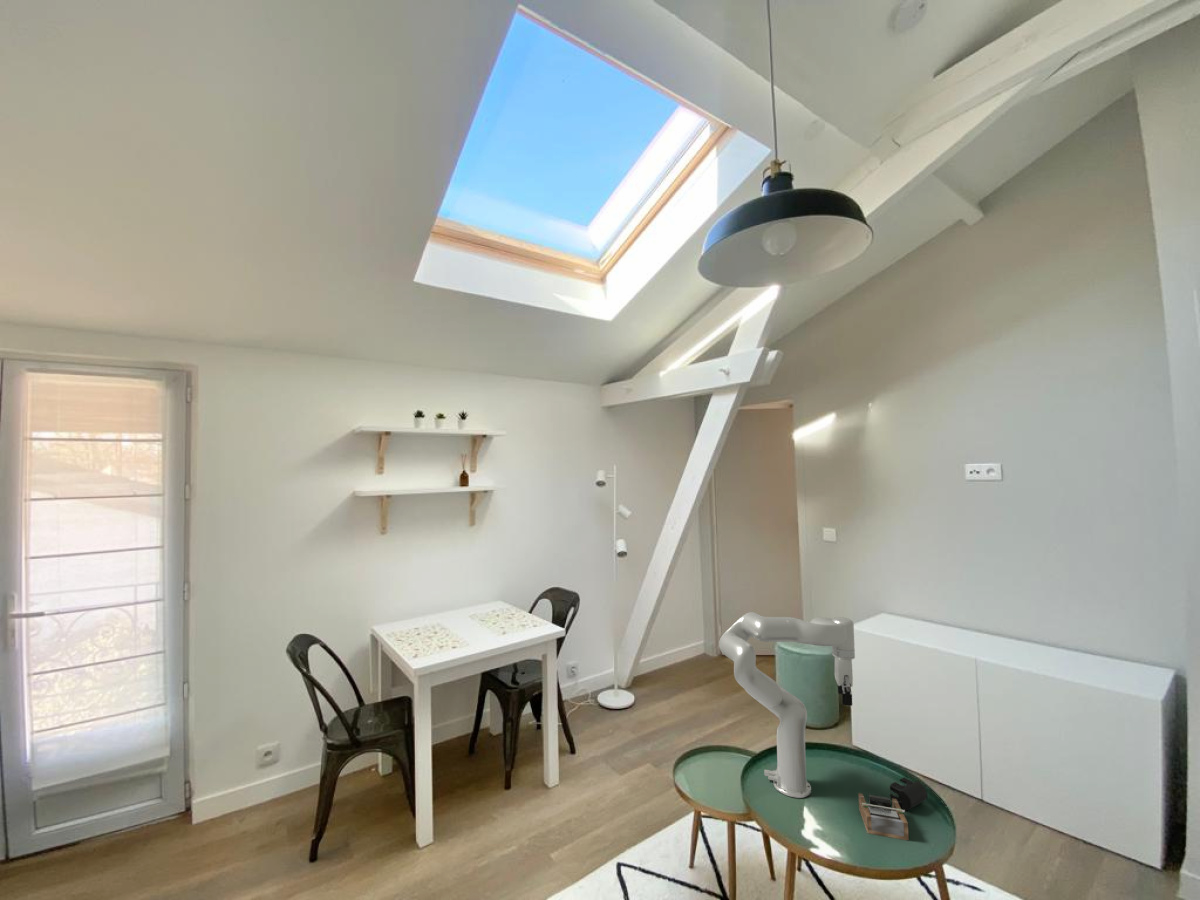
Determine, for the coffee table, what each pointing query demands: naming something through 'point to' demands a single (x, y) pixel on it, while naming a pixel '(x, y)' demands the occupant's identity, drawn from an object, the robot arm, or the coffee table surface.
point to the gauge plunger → (882, 807)
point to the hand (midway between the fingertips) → (845, 699)
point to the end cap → (908, 793)
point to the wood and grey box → (884, 822)
